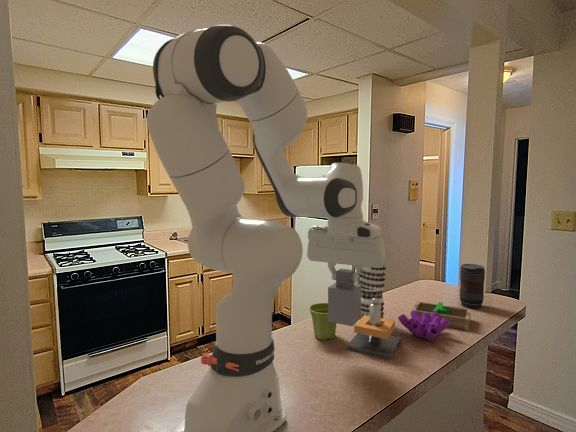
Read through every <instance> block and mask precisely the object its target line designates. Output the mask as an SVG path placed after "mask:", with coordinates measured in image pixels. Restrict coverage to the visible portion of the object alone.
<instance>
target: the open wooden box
mask: <svg viewBox="0 0 576 432" xmlns="http://www.w3.org/2000/svg"><path fill="white" fill-rule="evenodd" d="M437 305H438V304H437V303H429V302H424V301H416V302H415V304H414V306H413V307H412V309H411V311H418V313H419V316H420V318H421V320H422V313H424V312H425V313H429V316H430V314H431V312H433V310H434V309H435V307H436V306H437ZM448 306H449V310H448V315H445V314H439V313H438V314H439V317H440V318H442V319H443V318H445V319H447V320H448V321H449V322H450V323H449V325H448V327H447V328H452V329H458V330H463V331H469V330H470V323H471V310H472V308H466V307H464V308H463V307H457V306H450V305H448ZM410 319H412V318H410Z"/></svg>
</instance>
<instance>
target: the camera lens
mask: <svg viewBox="0 0 576 432" xmlns="http://www.w3.org/2000/svg"><path fill="white" fill-rule="evenodd" d="M459 270H460V271H459V280H460V282H459V283H460V284H459V301H460V304H461V306H462V307H464V308H466V309H471V310H472V309H475V310H476V309H478V310H479V309H481V308H482V305H483V304H484V297H485V293H484V292H485V291H484V289H485V279H486V269H485V266H483V265H480V264H476V263H463V264H461V265H460V268H459Z"/></svg>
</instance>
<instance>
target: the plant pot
mask: <svg viewBox="0 0 576 432" xmlns="http://www.w3.org/2000/svg"><path fill="white" fill-rule="evenodd" d="M308 311H309V312H310V315H311V319H312V321H311V322H312V326H313V333H314V336H315V338H317V339H319V340H324V341H325V340H328V339H330V340H331V339H334V338H335V337H336V330H337V324H338V323H333V322H328V302H317V303H313V304H310V306H308Z"/></svg>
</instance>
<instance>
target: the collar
mask: <svg viewBox="0 0 576 432" xmlns="http://www.w3.org/2000/svg"><path fill="white" fill-rule="evenodd" d="M369 324H370V316H367V315H364V316H363V317H362V318H361V319H360V320H359V321H358V322H356V323H355V324H354V326H353V330H354V331H353V333H355V334H357V333H359V334H364V335H369V336H373V337H378V338H383V339H387V338H388V337H389V335H391V334H392V333H393V331H394V329H395V328H396V320H395V319H389V318H384V317H383V318H381V327H377V326H372V325H369Z"/></svg>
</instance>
